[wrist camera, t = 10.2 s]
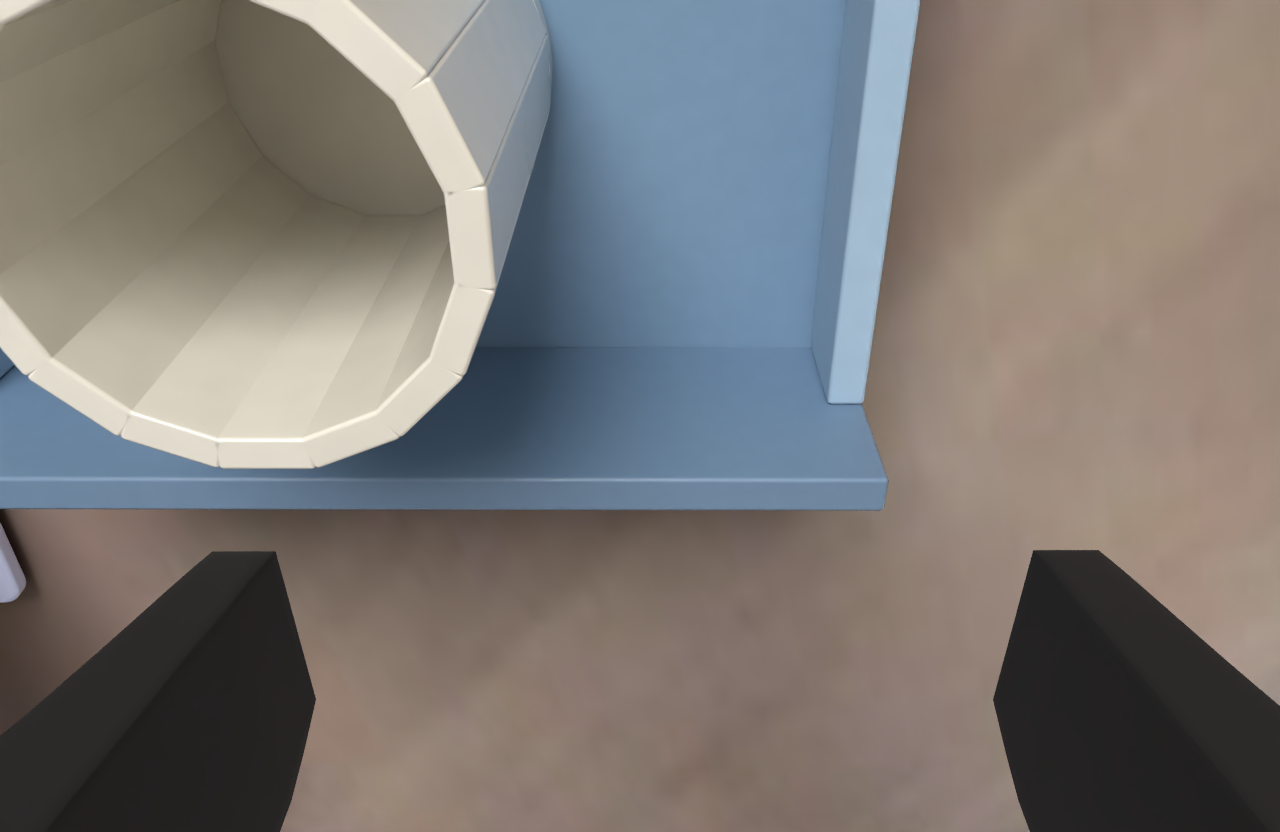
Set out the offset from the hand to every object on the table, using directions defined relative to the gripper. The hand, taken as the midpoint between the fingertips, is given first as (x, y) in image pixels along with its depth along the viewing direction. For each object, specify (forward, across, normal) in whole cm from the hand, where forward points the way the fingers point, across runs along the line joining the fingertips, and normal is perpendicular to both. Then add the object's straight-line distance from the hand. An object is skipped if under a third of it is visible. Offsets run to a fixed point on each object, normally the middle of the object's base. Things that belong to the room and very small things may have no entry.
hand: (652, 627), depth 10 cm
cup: (+8, +4, -4) cm, 10 cm away
